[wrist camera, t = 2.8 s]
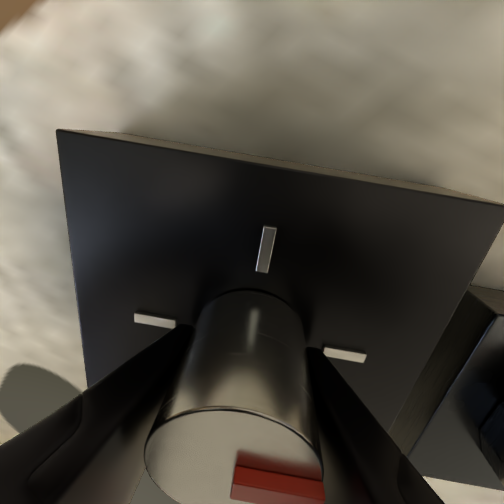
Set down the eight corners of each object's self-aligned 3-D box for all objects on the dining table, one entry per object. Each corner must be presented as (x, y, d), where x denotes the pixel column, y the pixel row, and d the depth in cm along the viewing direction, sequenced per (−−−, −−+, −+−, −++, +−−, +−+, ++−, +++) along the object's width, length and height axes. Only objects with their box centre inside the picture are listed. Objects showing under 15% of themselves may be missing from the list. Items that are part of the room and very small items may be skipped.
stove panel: (126, 359, 14) (87, 416, 11) (117, 132, 10) (49, 127, 7) (352, 399, 14) (373, 469, 11) (444, 188, 10) (519, 208, 7)
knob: (193, 366, 10) (136, 522, 6) (201, 280, 8) (132, 408, 4) (290, 383, 10) (302, 553, 6) (315, 300, 8) (353, 449, 4)
